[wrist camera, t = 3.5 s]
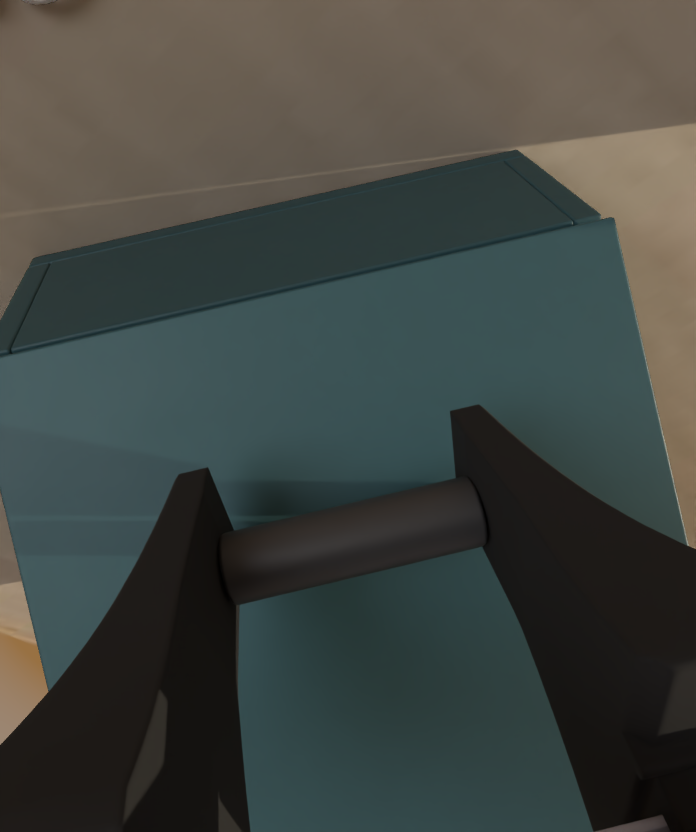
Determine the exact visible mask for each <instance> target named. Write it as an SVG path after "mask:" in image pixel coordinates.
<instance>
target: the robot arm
mask: <svg viewBox="0 0 696 832" xmlns="http://www.w3.org/2000/svg"><path fill="white" fill-rule="evenodd" d="M450 417H451V429H452V441H453V453H454V464H455V476H456V478H458V477H463V476H466V477H469V478H470V479H471V480H472V482H473V484H474V485H475V487H476V489H477V492H478V494H479V497H480V500H481V503H482V506H483V510H484V514H485V518H486V524H487V531H488V538H487V544H486V545H484V546H483V547H482V548H483V550H484V552H485V554H486V556H487V558H488V560H489V562H490V564H491V566H492V568H493V570H494V572H495V574H496V576H497V578H498V580H499V582H500V584H501V586H502V588H503V590H504V592H505V594H506V596H507V598H508V600H509V602H510V604H511V606H512V608H513V610H514V612H515V615H516V617H517V619H518V621H519V624H520V626H521V628H522V630H523V633H524V636H525V638H526V641H527V644H528V646H529V649H530V651H531V654H532V657H533V659H534V662H535V665H536V667H537V670H538V673H539V675H540V678H541V681H542V684H543V686H544V689H545V692H546V695H547V697H548V700H549V703H550V706H551V709H552V711H553V714H554V717H555V720H556V722H557V725H558V728H559V731H560V734H561V737H562V740H563V743H564V746H565V748H566V751H567V754H568V757H569V760H570V763H571V766H572V769H573V771H574V775H575V778H576V781H577V784H578V787H579V790H580V793H581V796H582V799H583V802H584V805H585V808H586V811H587V814H588V817H589V820H590V823H591V826H592V829H593V832H696V549H694V548H692V547H689V546H687V545H685V544H683V543H681V542H679V541H677V540H674V539H672V538H670V537H668V536H666V535H664V534H662V533H660V532H658V531H656V530H654V529H652V528H650V527H648V526H646V525H644V524H642V523H640V522H638V521H636V520H634V519H633V518H631V517H629V516H627V515H625V514H624V513H622V512H620V511H619V510H617V509H615V508H614V507H612V506H610V505H609V504H607V503H605V502H604V501H602V500H601V499H599V498H597V497H596V496H594V495H593V494H591V493H590V492H588V491H587V490H585V489H584V488H582V487H581V486H579V485H578V484H577V483H575V482H574V481H572V480H571V479H569V478H568V477H567V476H565V475H564V474H562V473H561V472H560V471H558V470H557V469H556V468H554V467H553V466H552V465H550V464H549V463H548V462H547V461H545V460H544V459H543V458H542V457H540V456H539V455H538V454H536V453H535V452H534V451H533V450H531V449H530V448H529V447H528V446H527V445H525V444H524V443H523V442H522V441H521V440H519V439H518V438H517V437H516V436H515V435H514V434H512V433H511V432H510V431H509V430H508V429H507V428H506V427H505V426H503V425H502V424H501V423H500V422H499V421H498V420H497V419H496V418H495V417H494V416H493V415H491V414H490V413H489V412H488V411H487V410H486V409H485V408H484V407H482V406H481V405H479V404H477V405H473V406H469V407H465V408H460V409H456V410H452V411H450ZM230 531H234V529H233V526H232V524H231V522H230V519H229V517H228V514H227V512H226V509H225V507H224V505H223V502H222V500H221V497H220V495H219V493H218V490H217V488H216V485H215V483H214V480H213V478H212V476H211V473H210V471H209V468H208V467H207V468H203V469H198V470H194V471H190V472H186V473H181V474H179V475H178V476H177V478H176V479H175V481H174V483H173V486H172V488H171V490H170V493H169V495H168V497H167V500H166V502H165V504H164V506H163V509H162V511H161V513H160V515H159V517H158V520H157V522H156V524H155V526H154V528H153V530H152V532H151V534H150V536H149V538H148V540H147V542H146V544H145V546H144V548H143V550H142V552H141V554H140V556H139V558H138V560H137V562H136V564H135V566H134V567H133V569H132V571H131V573H130V574H129V576H128V578H127V580H126V581H125V583H124V585H123V587H122V588H121V590H120V592H119V594H118V595H117V597H116V599H115V600H114V602H113V604H112V605H111V607H110V608H109V610H108V612H107V613H106V615H105V616H104V618H103V619H102V621H101V622H100V624H99V625H98V627H97V628H96V630H95V631H94V633H93V634H92V636H91V637H90V638H89V640H88V641H87V643H86V644H85V645H84V647H83V648H82V649H81V651H80V652H79V653H78V655H77V656H76V657H75V659H74V660H73V661H72V663H71V664H70V665H69V667H68V668H67V669H66V671H65V672H64V673H63V674H62V676H61V677H60V678H59V679H58V681H57V682H56V683H55V685H54V686H53V687H52V688H51V690H50V691H49V692H48V693H47V694H46V696H45V697H44V698H43V699H42V700H41V701H40V702H39V703H38V705H37V706H36V707H35V708H34V709H33V710H32V712H31V713H30V714H29V715H28V716H27V717H26V718H25V719H24V720H23V721H22V722H21V724H20V725H19V726H18V727H17V728H16V729H15V730H14V731H13V732H12V733H11V734H10V735H9V737H8V738H7V739H6V740H5V741H4V742H3V743H2V744H1V745H0V832H251V831H250V821H249V812H248V803H247V794H246V783H245V772H244V761H243V751H242V739H241V726H240V713H239V700H238V656H239V613H240V605H235V604H233V603H232V602H231V600H230V598H229V596H228V594H227V592H226V589H225V586H224V583H223V579H222V575H221V570H220V563H219V553H218V546H219V539H220V536H221V535H222V534H224V533H226V532H230Z"/></svg>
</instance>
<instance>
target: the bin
mask: <svg viewBox="0 0 696 832" xmlns="http://www.w3.org/2000/svg"><path fill="white" fill-rule="evenodd" d="M597 220H601V215H600V214H599V213H598V212H597V211H596V210H594V209H593V208H592V207H590V206H589V205H588V204H587V203H585V202H584V201H583V200H581V199H580V198H579V197H578V196H576V195H575V194H574V193H572V192H571V191H570V190H569V189H567V188H566V187H565V186H563V185H562V184H561V183H560V182H558V181H557V180H556V179H554V178H553V177H552V176H551V175H549V174H548V173H547V172H545V171H544V170H543V169H542V168H540V167H539V166H538V165H536V164H535V163H534V162H533V161H531V160H530V159H529V158H527V157H526V156H524V155H523V154H522V153H521V152H519V151H518V150H513V151H508V152H504V153H499V154H495V155H490V156H486V157H482V158H477V159H473V160H468V161H464V162H459V163H455V164H450V165H446V166H441V167H437V168H433V169H428V170H424V171H419V172H415V173H410V174H406V175H401V176H397V177H392V178H388V179H383V180H379V181H375V182H370V183H366V184H361V185H357V186H352V187H348V188H343V189H339V190H334V191H330V192H326V193H321V194H317V195H312V196H308V197H303V198H299V199H294V200H290V201H285V202H281V203H277V204H272V205H268V206H263V207H259V208H254V209H250V210H245V211H241V212H236V213H232V214H228V215H223V216H219V217H214V218H210V219H205V220H201V221H196V222H192V223H187V224H183V225H179V226H174V227H170V228H165V229H161V230H156V231H152V232H147V233H143V234H138V235H134V236H130V237H125V238H121V239H116V240H112V241H107V242H103V243H98V244H94V245H89V246H85V247H81V248H76V249H72V250H67V251H63V252H58V253H54V254H49V255H45V256H40V257H36V258H34V259H33V260H32V262H31V264H30V266H29V268H28V269H27V271H26V273H25V275H24V277H23V279H22V280H21V282H20V284H19V286H18V288H17V290H16V292H15V294H14V296H13V297H12V299H11V301H10V303H9V305H8V307H7V309H6V311H5V313H4V314H3V316H2V318H1V320H0V356H4V355H9V354H13V353H18V352H22V351H26V350H31V349H35V348H40V347H44V346H48V345H53V344H57V343H62V342H66V341H70V340H75V339H79V338H83V337H88V336H92V335H97V334H101V333H105V332H110V331H114V330H119V329H123V328H127V327H132V326H136V325H140V324H145V323H149V322H154V321H158V320H162V319H167V318H171V317H176V316H180V315H184V314H189V313H193V312H198V311H202V310H206V309H211V308H215V307H219V306H224V305H228V304H233V303H237V302H241V301H246V300H250V299H255V298H259V297H263V296H268V295H272V294H277V293H281V292H285V291H290V290H294V289H298V288H303V287H307V286H312V285H316V284H320V283H325V282H329V281H334V280H338V279H342V278H347V277H351V276H356V275H360V274H364V273H369V272H373V271H377V270H382V269H386V268H391V267H395V266H399V265H404V264H408V263H413V262H417V261H421V260H426V259H430V258H434V257H439V256H443V255H448V254H452V253H456V252H461V251H465V250H470V249H474V248H478V247H483V246H487V245H492V244H496V243H500V242H505V241H509V240H513V239H518V238H522V237H527V236H531V235H535V234H540V233H544V232H549V231H553V230H557V229H562V228H566V227H571V226H575V225H579V224H584V223H588V222H592V221H597Z"/></svg>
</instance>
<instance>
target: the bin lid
mask: <svg viewBox="0 0 696 832" xmlns="http://www.w3.org/2000/svg"><path fill="white" fill-rule="evenodd" d="M477 404H479V405H481V406H482V407H484V408H485V409H486V410H487V411H488V412H489V413H490V414H491V415H493V416H494V417H495V418H496V419H497V420H498V421H499V422H500V423H501V424H502V425H503V426H505V427H506V428H507V429H508V430H509V431H510V432H511V433H512V434H514V435H515V436H516V437H517V438H518V439H519V440H521V441H522V442H523V443H524V444H525V445H527V446H528V447H529V448H530V449H531V450H533V451H534V452H535V453H536V454H538V455H539V456H540V457H542V458H543V459H544V460H545V461H547V462H548V463H549V464H550V465H552V466H553V467H554V468H556V469H557V470H558V471H560V472H561V473H562V474H564V475H565V476H567V477H568V478H569V479H571V480H572V481H574V482H575V483H577V484H578V485H579V486H581V487H582V488H584V489H585V490H587V491H588V492H590V493H591V494H593V495H594V496H596V497H597V498H599V499H601V500H602V501H604V502H605V503H607V504H609V505H610V506H612V507H614V508H615V509H617V510H619V511H620V512H622V513H624V514H625V515H627V516H629V517H631V518H633V519H634V520H636V521H638V522H640V523H642V524H644V525H646V526H648V527H650V528H652V529H654V530H656V531H658V532H660V533H662V534H664V535H666V536H668V537H670V538H672V539H674V540H677V541H679V542H681V543H683V544H685V545H687V546H689V545H688V541H687V536H686V532H685V528H684V523H683V519H682V514H681V510H680V506H679V501H678V497H677V492H676V488H675V484H674V479H673V475H672V470H671V466H670V462H669V457H668V453H667V448H666V444H665V440H664V435H663V431H662V426H661V422H660V418H659V413H658V409H657V404H656V400H655V396H654V391H653V387H652V382H651V378H650V374H649V369H648V365H647V360H646V356H645V352H644V347H643V343H642V338H641V334H640V330H639V325H638V321H637V316H636V312H635V308H634V303H633V299H632V294H631V290H630V286H629V281H628V277H627V272H626V268H625V264H624V259H623V255H622V250H621V246H620V242H619V237H618V233H617V228H616V224H615V220H614V218H612V217H610V218H606V219H601V220H597V221H592V222H588V223H584V224H579V225H575V226H571V227H566V228H562V229H557V230H553V231H549V232H544V233H540V234H535V235H531V236H527V237H522V238H518V239H513V240H509V241H505V242H500V243H496V244H492V245H487V246H483V247H478V248H474V249H470V250H465V251H461V252H456V253H452V254H448V255H443V256H439V257H434V258H430V259H426V260H421V261H417V262H413V263H408V264H404V265H399V266H395V267H391V268H386V269H382V270H377V271H373V272H369V273H364V274H360V275H356V276H351V277H347V278H342V279H338V280H334V281H329V282H325V283H320V284H316V285H312V286H307V287H303V288H298V289H294V290H290V291H285V292H281V293H277V294H272V295H268V296H263V297H259V298H255V299H250V300H246V301H241V302H237V303H233V304H228V305H224V306H219V307H215V308H211V309H206V310H202V311H198V312H193V313H189V314H184V315H180V316H176V317H171V318H167V319H162V320H158V321H154V322H149V323H145V324H140V325H136V326H132V327H127V328H123V329H119V330H114V331H110V332H105V333H101V334H97V335H92V336H88V337H83V338H79V339H75V340H70V341H66V342H62V343H57V344H53V345H48V346H44V347H40V348H35V349H31V350H26V351H22V352H18V353H13V354H9V355H4V356H0V491H1V495H2V499H3V504H4V508H5V512H6V516H7V520H8V525H9V529H10V533H11V537H12V541H13V545H14V550H15V554H16V558H17V562H18V566H19V570H20V575H21V579H22V583H23V587H24V591H25V595H26V600H27V604H28V608H29V612H30V616H31V620H32V625H33V629H34V633H35V637H36V641H37V646H38V650H39V654H40V658H41V662H42V666H43V671H44V675H45V679H46V683H47V687H48V691H50V690H51V688H52V687H53V686H54V685H55V683H56V682H57V681H58V679H59V678H60V677H61V676H62V674H63V673H64V672H65V671H66V669H67V668H68V667H69V665H70V664H71V663H72V661H73V660H74V659H75V657H76V656H77V655H78V653H79V652H80V651H81V649H82V648H83V647H84V645H85V644H86V643H87V641H88V640H89V638H90V637H91V636H92V634H93V633H94V631H95V630H96V628H97V627H98V625H99V624H100V622H101V621H102V619H103V618H104V616H105V615H106V613H107V612H108V610H109V608H110V607H111V605H112V604H113V602H114V600H115V599H116V597H117V595H118V594H119V592H120V590H121V588H122V587H123V585H124V583H125V581H126V580H127V578H128V576H129V574H130V573H131V571H132V569H133V567H134V566H135V564H136V562H137V560H138V558H139V556H140V554H141V552H142V550H143V548H144V546H145V544H146V542H147V540H148V538H149V536H150V534H151V532H152V530H153V528H154V526H155V524H156V522H157V520H158V517H159V515H160V513H161V511H162V509H163V506H164V504H165V502H166V500H167V497H168V495H169V493H170V490H171V488H172V486H173V483H174V481H175V479H176V478H177V476H178V475H179V474H181V473H186V472H190V471H194V470H198V469H203V468H207V467H208V468H209V471H210V473H211V476H212V478H213V480H214V483H215V485H216V488H217V490H218V493H219V495H220V497H221V500H222V502H223V505H224V507H225V509H226V512H227V514H228V517H229V519H230V522H231V524H232V526H233V529H234V531H230V532H226V533H224V534H222V535H221V536H220V539H219V546H218V553H219V563H220V570H221V575H222V579H223V583H224V586H225V589H226V592H227V594H228V596H229V598H230V600H231V602H232V603H233V604H235V605H240V613H239V656H238V700H239V713H240V726H241V739H242V751H243V761H244V772H245V783H246V794H247V803H248V812H249V821H250V831H251V832H593V829H592V826H591V823H590V820H589V817H588V814H587V811H586V808H585V805H584V802H583V799H582V796H581V793H580V790H579V787H578V784H577V781H576V778H575V775H574V771H573V769H572V766H571V763H570V760H569V757H568V754H567V751H566V748H565V746H564V743H563V740H562V737H561V734H560V731H559V728H558V725H557V722H556V720H555V717H554V714H553V711H552V709H551V706H550V703H549V700H548V697H547V695H546V692H545V689H544V686H543V684H542V681H541V678H540V675H539V673H538V670H537V667H536V665H535V662H534V659H533V657H532V654H531V651H530V649H529V646H528V644H527V641H526V638H525V636H524V633H523V630H522V628H521V626H520V624H519V621H518V619H517V617H516V615H515V612H514V610H513V608H512V606H511V604H510V602H509V600H508V598H507V596H506V594H505V592H504V590H503V588H502V586H501V584H500V582H499V580H498V578H497V576H496V574H495V572H494V570H493V568H492V566H491V564H490V562H489V560H488V558H487V556H486V554H485V552H484V550H483V548H482V547H483V546H484V545H486V544H487V538H488V531H487V524H486V518H485V514H484V510H483V506H482V503H481V500H480V497H479V494H478V492H477V489H476V487H475V485H474V484H473V482H472V480H471V479H470V478H469V477H466V476H463V477H458V478H456V476H455V464H454V453H453V441H452V429H451V417H450V411H452V410H456V409H460V408H465V407H469V406H473V405H477Z"/></svg>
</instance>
